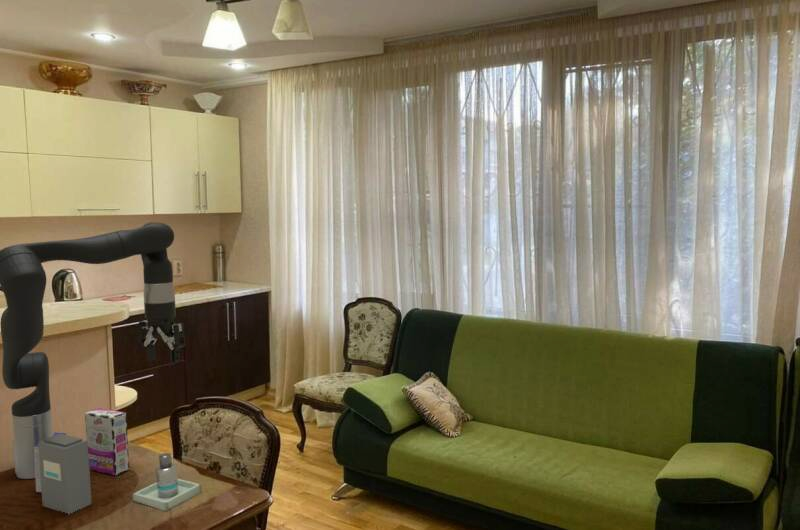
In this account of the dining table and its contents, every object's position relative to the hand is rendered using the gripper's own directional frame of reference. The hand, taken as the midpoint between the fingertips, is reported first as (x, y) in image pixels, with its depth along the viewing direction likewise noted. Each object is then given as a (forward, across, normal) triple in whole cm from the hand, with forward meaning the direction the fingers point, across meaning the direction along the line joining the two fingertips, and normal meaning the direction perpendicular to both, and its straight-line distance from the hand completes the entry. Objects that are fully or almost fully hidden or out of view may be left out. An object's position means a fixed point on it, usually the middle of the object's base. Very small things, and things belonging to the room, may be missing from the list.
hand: (162, 361), depth 168 cm
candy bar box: (+32, +21, +2) cm, 39 cm away
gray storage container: (+32, +12, +21) cm, 40 cm away
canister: (+31, -7, +7) cm, 33 cm away
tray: (+32, -7, +7) cm, 34 cm away
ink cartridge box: (+32, +22, +16) cm, 42 cm away
